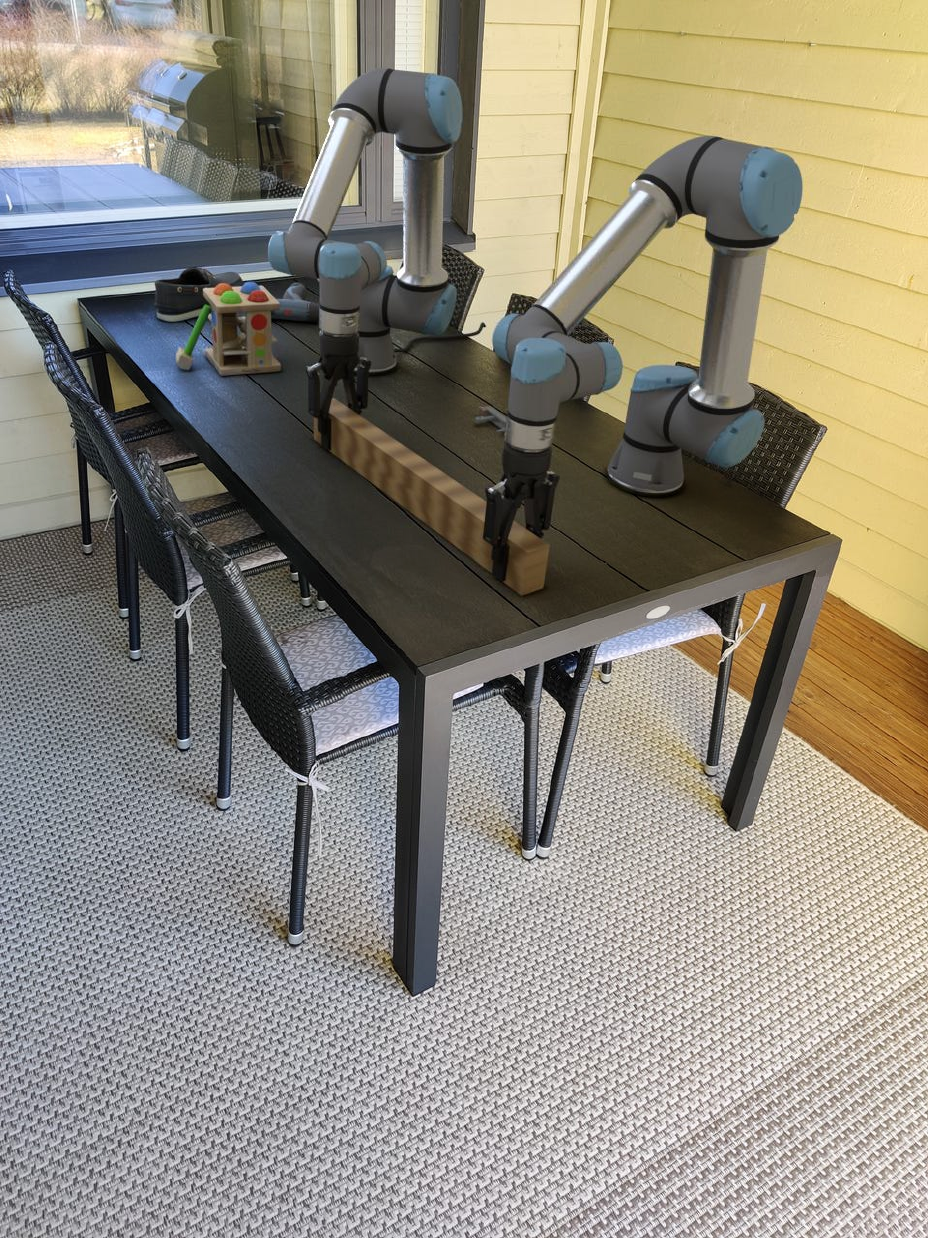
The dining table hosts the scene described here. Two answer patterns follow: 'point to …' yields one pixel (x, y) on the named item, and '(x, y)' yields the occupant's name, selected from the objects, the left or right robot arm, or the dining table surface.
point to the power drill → (296, 305)
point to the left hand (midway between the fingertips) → (337, 444)
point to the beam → (432, 496)
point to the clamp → (491, 417)
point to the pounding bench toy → (229, 347)
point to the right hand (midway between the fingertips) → (511, 572)
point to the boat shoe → (188, 292)
